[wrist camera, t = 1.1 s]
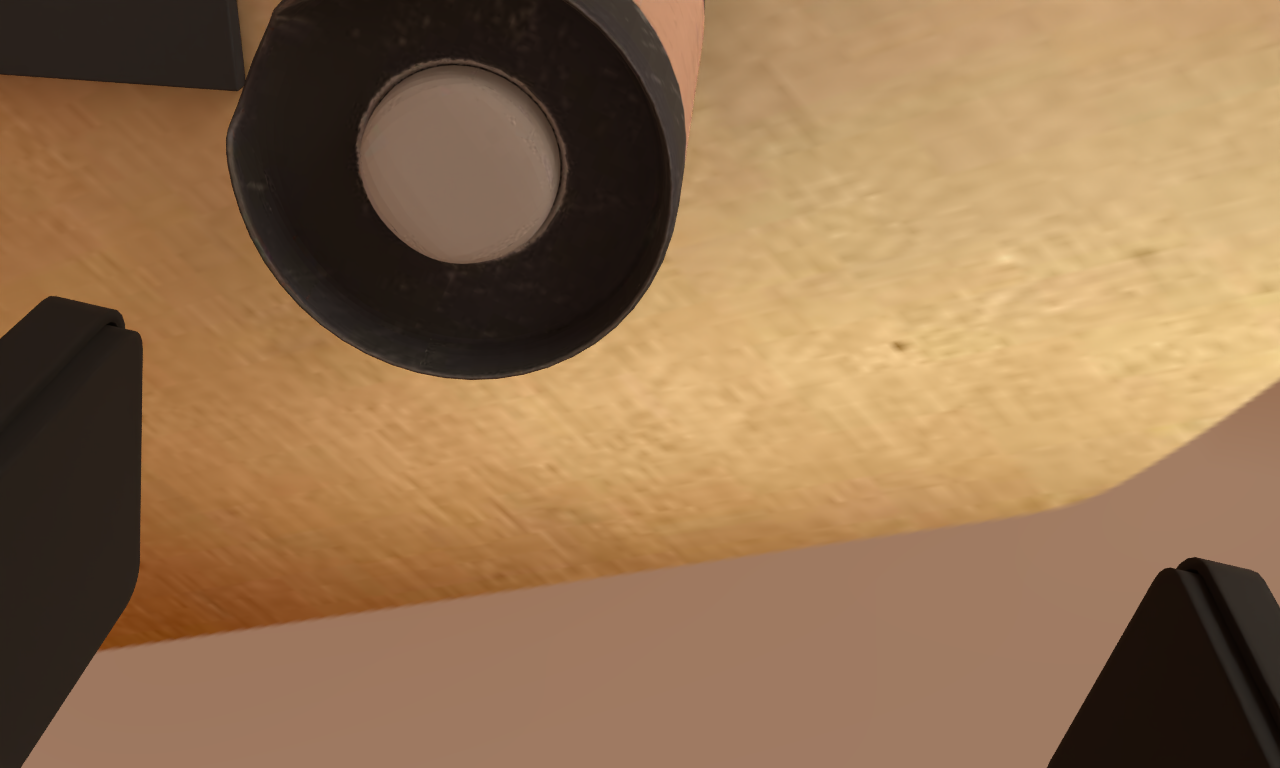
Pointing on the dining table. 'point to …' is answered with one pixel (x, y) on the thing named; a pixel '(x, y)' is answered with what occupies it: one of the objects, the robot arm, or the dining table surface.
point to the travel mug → (467, 170)
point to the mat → (124, 41)
